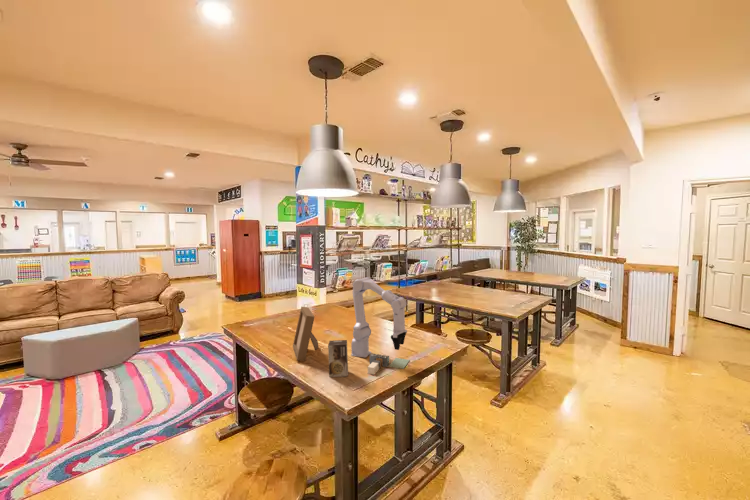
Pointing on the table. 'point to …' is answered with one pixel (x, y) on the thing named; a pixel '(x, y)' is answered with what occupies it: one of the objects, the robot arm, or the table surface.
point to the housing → (384, 358)
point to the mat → (399, 363)
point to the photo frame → (304, 334)
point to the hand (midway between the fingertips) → (399, 346)
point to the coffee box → (338, 358)
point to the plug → (374, 367)
